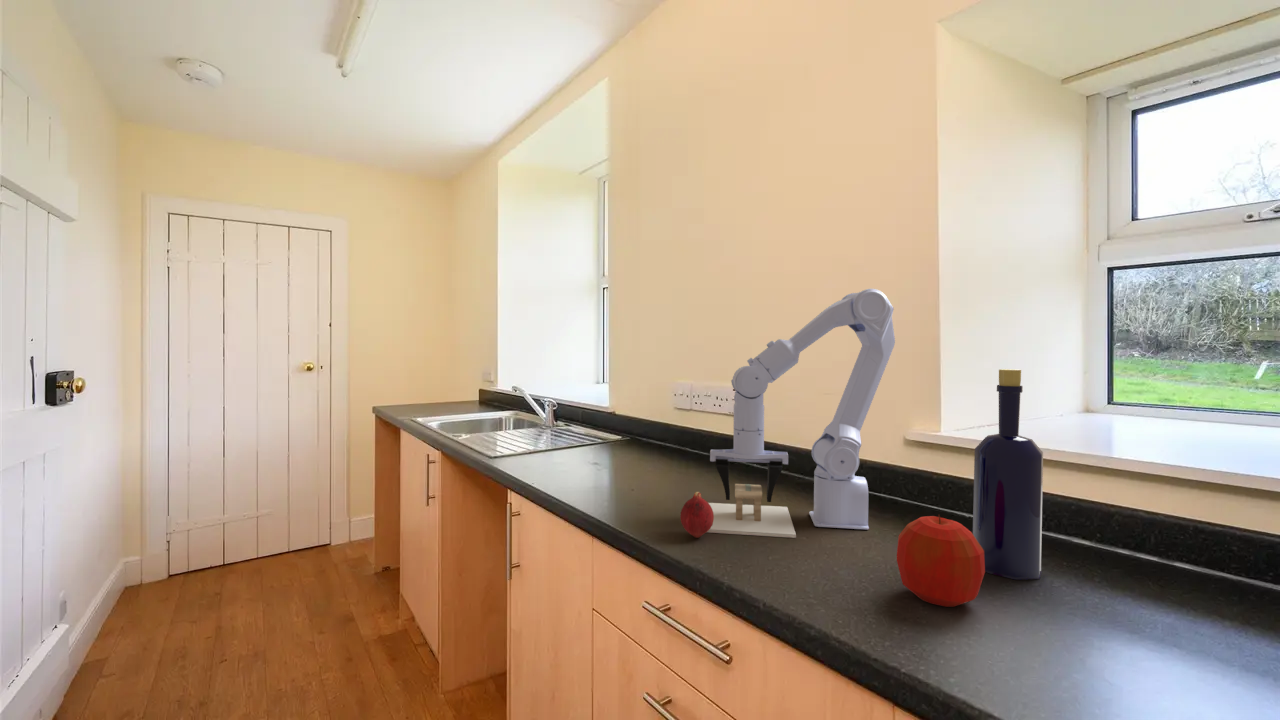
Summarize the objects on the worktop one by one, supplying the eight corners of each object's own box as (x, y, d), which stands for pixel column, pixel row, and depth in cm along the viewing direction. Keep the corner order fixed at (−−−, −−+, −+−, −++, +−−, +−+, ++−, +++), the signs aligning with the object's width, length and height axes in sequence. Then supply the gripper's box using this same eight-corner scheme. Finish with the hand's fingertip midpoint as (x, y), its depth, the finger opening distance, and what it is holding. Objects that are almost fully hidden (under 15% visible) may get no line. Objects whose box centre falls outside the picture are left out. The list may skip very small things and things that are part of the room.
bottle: (1030, 559, 84) (1035, 368, 83) (1054, 584, 75) (1059, 371, 74) (963, 552, 87) (967, 367, 86) (979, 575, 78) (983, 370, 77)
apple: (898, 610, 68) (900, 520, 68) (892, 578, 77) (894, 499, 77) (992, 626, 64) (994, 531, 64) (974, 590, 74) (975, 507, 73)
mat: (787, 509, 109) (787, 506, 109) (795, 537, 93) (795, 534, 93) (708, 505, 112) (708, 502, 112) (703, 532, 96) (703, 528, 96)
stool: (762, 521, 100) (762, 491, 100) (734, 520, 101) (735, 490, 101) (760, 513, 105) (761, 484, 105) (734, 511, 106) (735, 483, 105)
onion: (712, 545, 90) (712, 498, 90) (678, 542, 91) (678, 496, 91) (714, 533, 95) (714, 488, 95) (682, 530, 97) (682, 487, 96)
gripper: (786, 426, 105) (785, 495, 105) (711, 424, 107) (711, 491, 108) (789, 432, 98) (788, 506, 98) (709, 430, 100) (709, 502, 101)
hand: (748, 499), depth 102 cm, fingers open, 7 cm apart
